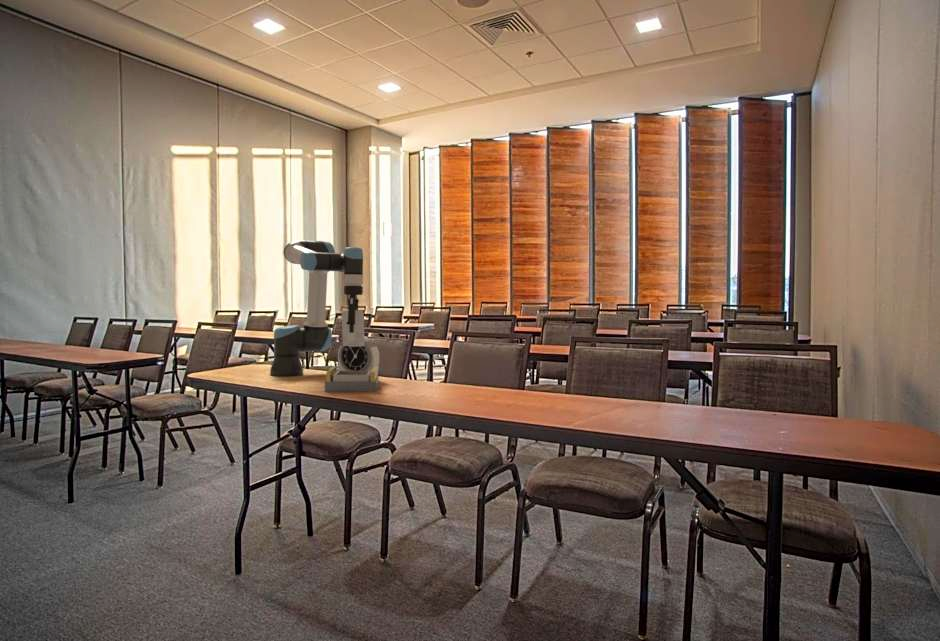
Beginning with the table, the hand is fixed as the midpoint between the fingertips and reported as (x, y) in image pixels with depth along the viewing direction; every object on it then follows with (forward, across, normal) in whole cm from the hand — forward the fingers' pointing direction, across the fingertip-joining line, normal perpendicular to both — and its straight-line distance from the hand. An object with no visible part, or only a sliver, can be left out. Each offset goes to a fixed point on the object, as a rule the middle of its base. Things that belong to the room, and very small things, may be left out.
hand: (353, 339), depth 234 cm
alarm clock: (+20, -24, 0) cm, 32 cm away
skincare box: (+3, 0, 0) cm, 3 cm away
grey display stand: (+21, 0, 0) cm, 21 cm away
